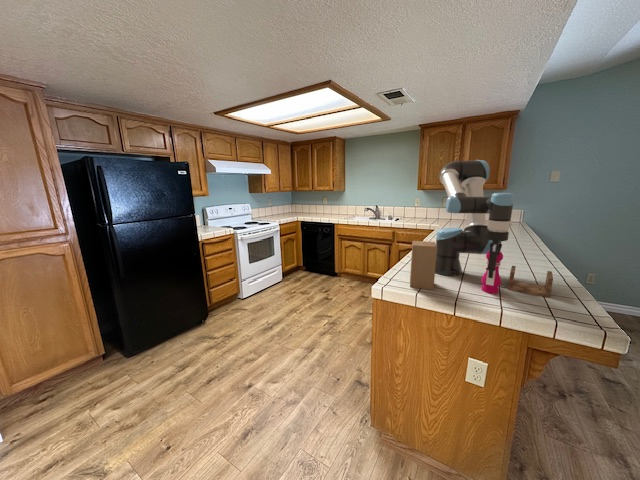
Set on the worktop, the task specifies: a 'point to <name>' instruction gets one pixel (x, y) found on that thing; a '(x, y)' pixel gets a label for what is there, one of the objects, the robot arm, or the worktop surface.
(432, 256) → the wooden block
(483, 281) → the pepper mill
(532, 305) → the worktop surface
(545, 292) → the holder
